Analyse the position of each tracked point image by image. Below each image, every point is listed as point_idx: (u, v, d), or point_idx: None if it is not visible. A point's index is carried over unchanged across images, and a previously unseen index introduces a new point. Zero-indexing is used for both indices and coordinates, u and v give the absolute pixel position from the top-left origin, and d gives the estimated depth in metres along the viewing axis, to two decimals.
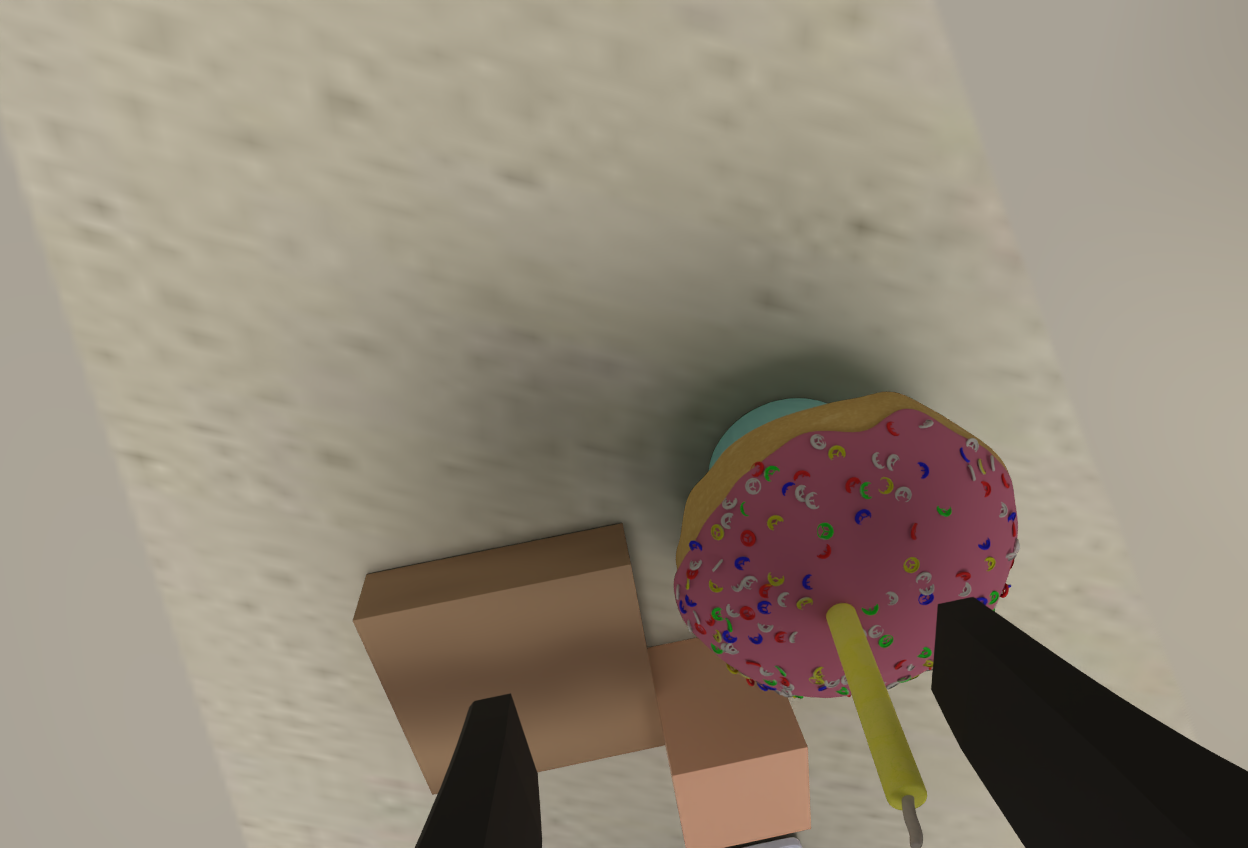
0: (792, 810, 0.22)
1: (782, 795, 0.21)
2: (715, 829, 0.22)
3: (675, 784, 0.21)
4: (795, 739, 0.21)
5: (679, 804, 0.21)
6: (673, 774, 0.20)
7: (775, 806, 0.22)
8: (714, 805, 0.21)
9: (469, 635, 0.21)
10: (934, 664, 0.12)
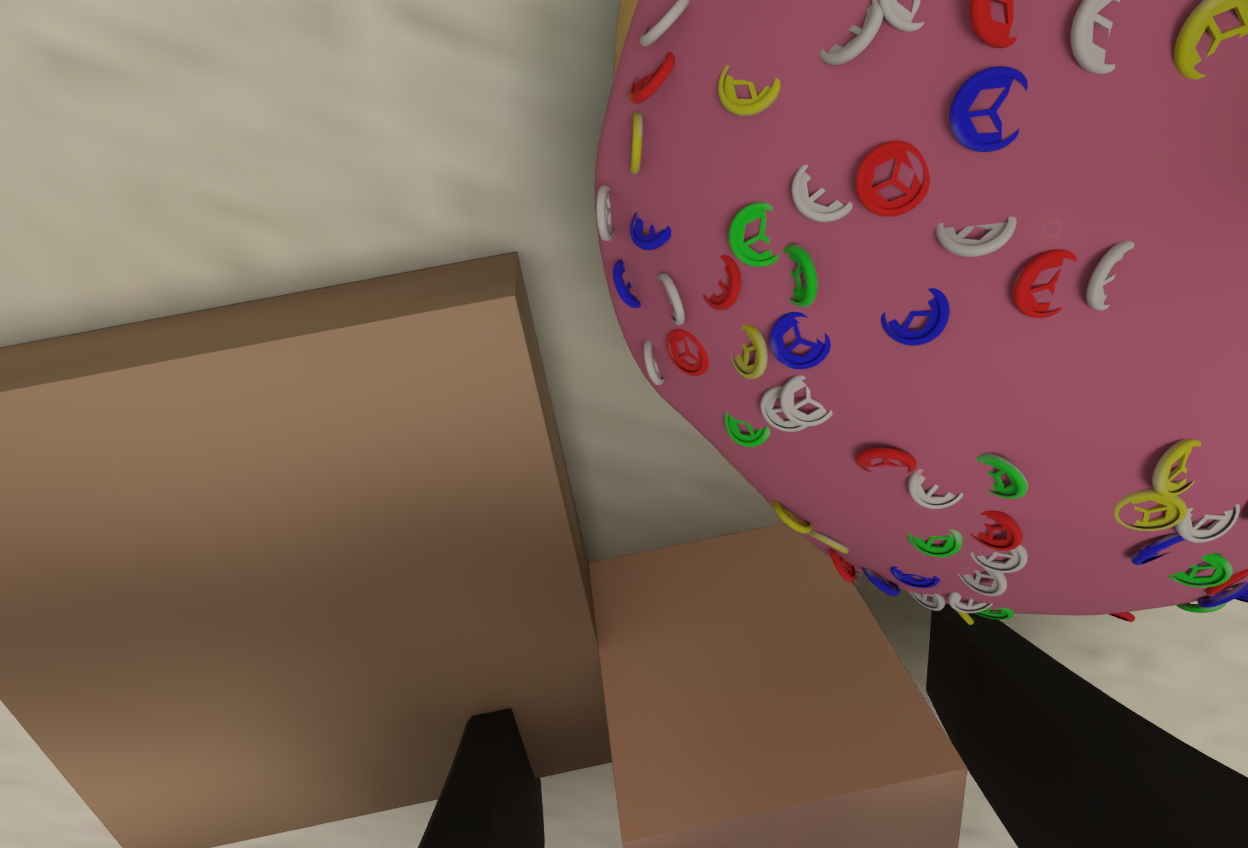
0: None
1: None
2: None
3: None
4: (932, 748, 0.08)
5: None
6: (625, 838, 0.08)
7: None
8: None
9: (122, 489, 0.08)
10: (928, 665, 0.12)
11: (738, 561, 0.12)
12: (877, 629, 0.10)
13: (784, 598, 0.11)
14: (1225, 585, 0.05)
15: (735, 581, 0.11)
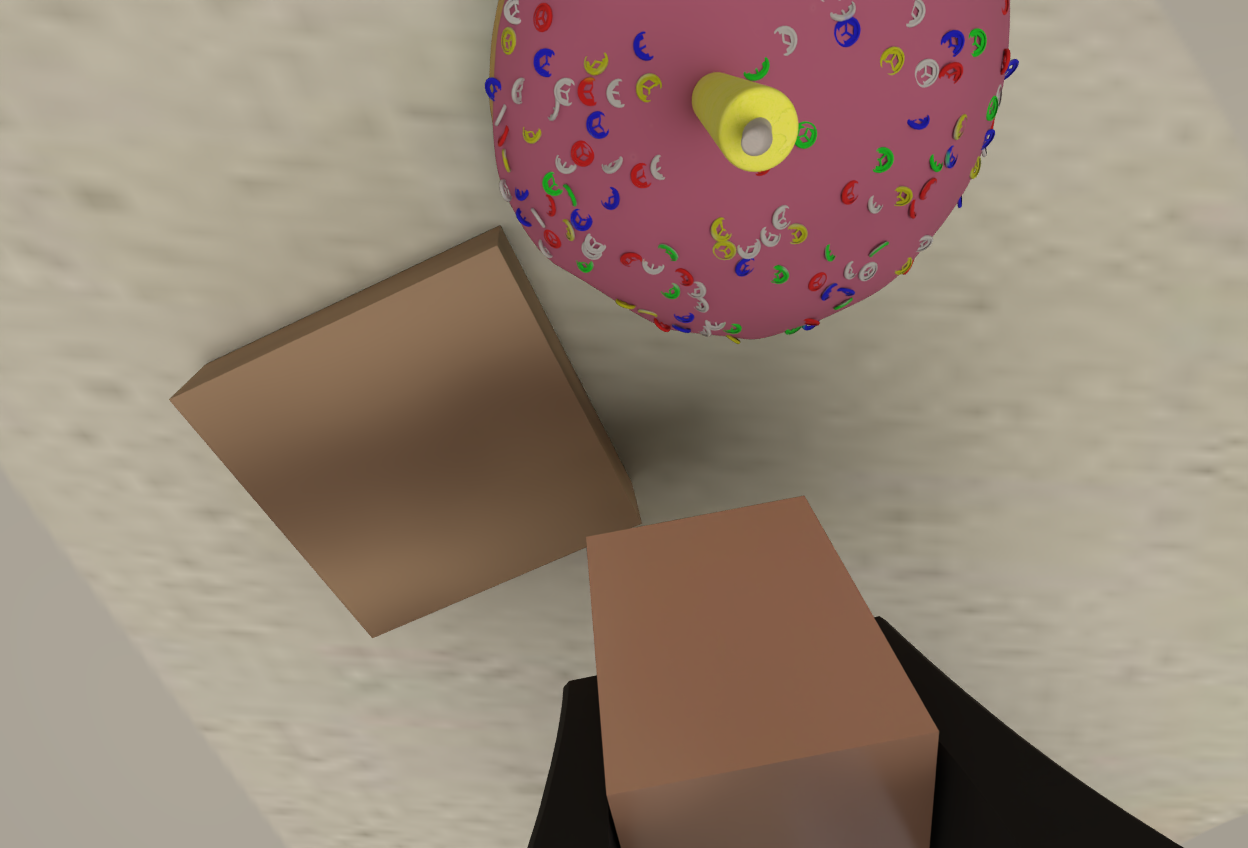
0: None
1: (868, 843, 0.09)
2: None
3: (615, 815, 0.09)
4: (906, 713, 0.09)
5: None
6: (609, 791, 0.08)
7: None
8: None
9: (325, 397, 0.16)
10: None
11: (730, 537, 0.12)
12: (861, 602, 0.10)
13: (773, 571, 0.11)
14: (812, 283, 0.12)
15: (726, 556, 0.12)
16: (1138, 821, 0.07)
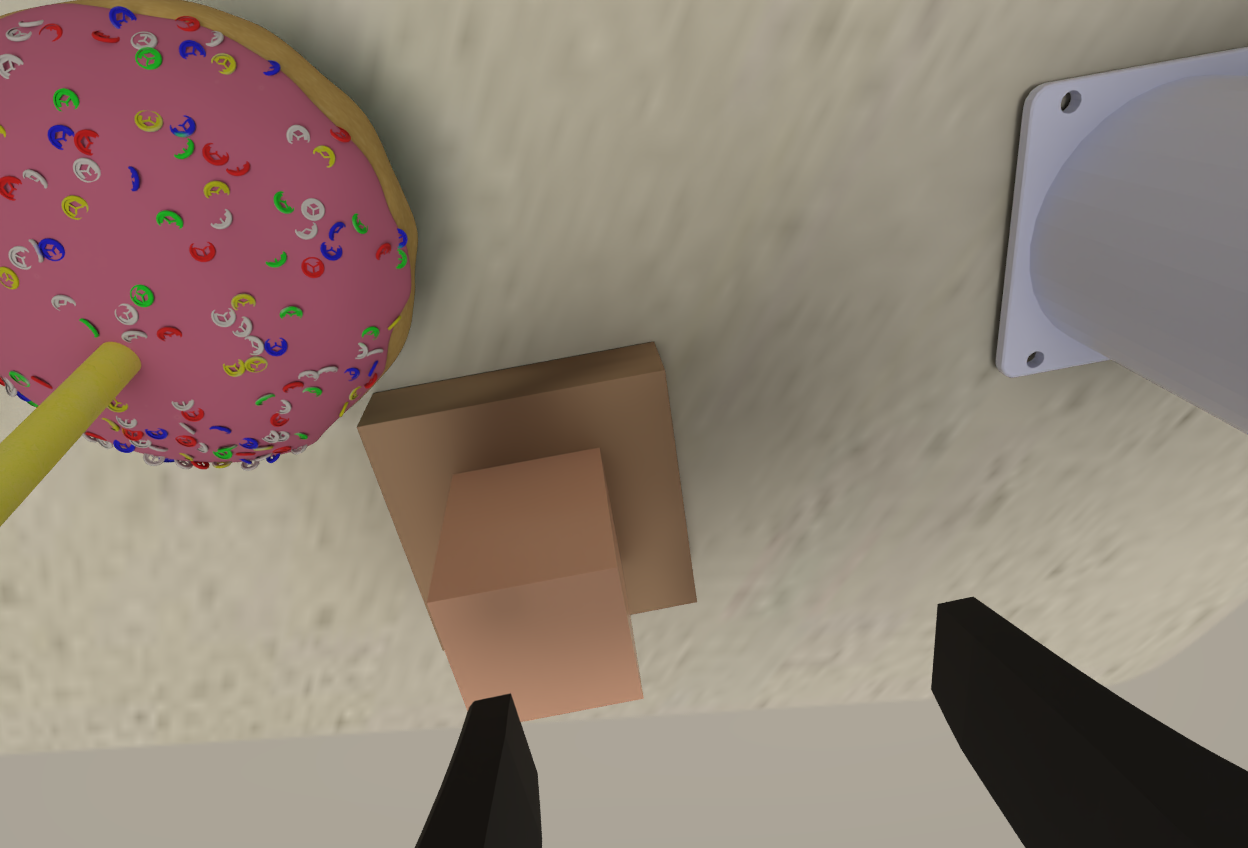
0: (612, 668, 0.16)
1: (594, 643, 0.16)
2: (507, 692, 0.16)
3: (434, 617, 0.15)
4: (604, 559, 0.15)
5: (446, 649, 0.15)
6: (428, 601, 0.15)
7: (587, 660, 0.16)
8: (498, 654, 0.15)
9: None
10: (933, 663, 0.12)
11: (543, 473, 0.18)
12: (605, 506, 0.17)
13: (561, 491, 0.17)
14: (312, 274, 0.12)
15: (537, 483, 0.18)
16: None
